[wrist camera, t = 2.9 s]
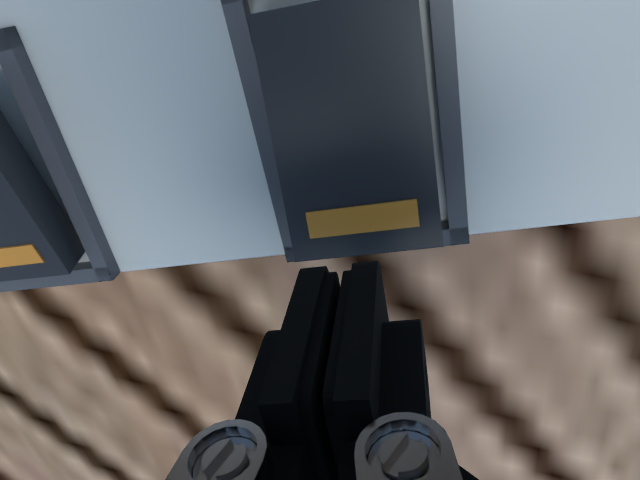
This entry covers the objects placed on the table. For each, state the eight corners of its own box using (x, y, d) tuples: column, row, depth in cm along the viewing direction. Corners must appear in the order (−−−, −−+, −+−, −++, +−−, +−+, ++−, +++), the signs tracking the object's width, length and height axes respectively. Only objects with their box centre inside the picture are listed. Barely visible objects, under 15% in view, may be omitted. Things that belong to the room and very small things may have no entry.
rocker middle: (261, 18, 15) (246, 14, 14) (415, -13, 14) (416, -21, 13) (303, 246, 17) (294, 262, 16) (440, 231, 16) (443, 247, 15)
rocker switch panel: (-387, -28, 21) (-569, -23, 17) (1201, -497, 11) (1634, -738, 7) (-174, 266, 28) (-270, 319, 24) (965, 124, 18) (1130, 174, 14)
